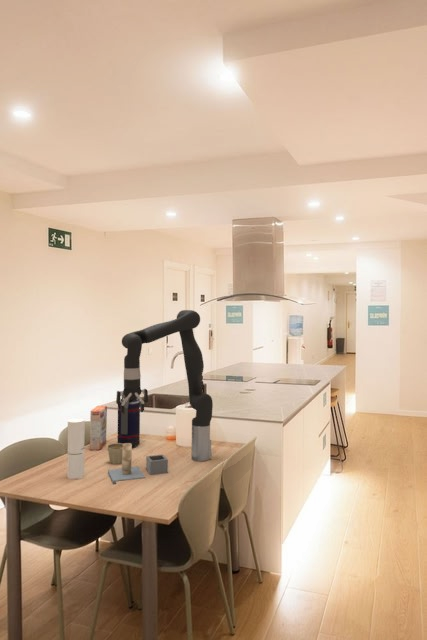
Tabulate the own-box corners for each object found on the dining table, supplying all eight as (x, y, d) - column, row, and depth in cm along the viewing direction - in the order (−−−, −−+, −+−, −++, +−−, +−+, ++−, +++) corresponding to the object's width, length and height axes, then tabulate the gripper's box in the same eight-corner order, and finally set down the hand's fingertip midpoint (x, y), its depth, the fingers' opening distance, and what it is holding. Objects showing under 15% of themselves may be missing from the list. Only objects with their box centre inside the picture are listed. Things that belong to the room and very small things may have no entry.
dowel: (129, 471, 215) (130, 442, 215) (131, 474, 211) (132, 445, 211) (121, 472, 214) (121, 443, 213) (122, 475, 210) (123, 445, 210)
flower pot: (121, 467, 224) (122, 449, 224) (103, 466, 226) (103, 448, 226) (129, 461, 233) (129, 443, 233) (111, 459, 235) (111, 442, 235)
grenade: (121, 441, 267) (122, 388, 266) (142, 443, 265) (142, 389, 264) (113, 449, 253) (113, 392, 252) (134, 450, 251) (135, 393, 250)
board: (138, 469, 222) (138, 466, 222) (145, 480, 209) (145, 476, 209) (107, 473, 216) (107, 469, 216) (113, 484, 203) (113, 480, 203)
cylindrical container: (87, 474, 214) (87, 419, 214) (77, 479, 208) (78, 422, 207) (73, 472, 217) (74, 417, 216) (64, 477, 210) (64, 421, 209)
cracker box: (100, 450, 250) (101, 411, 250) (89, 450, 250) (89, 410, 250) (107, 443, 264) (107, 405, 264) (96, 442, 264) (96, 405, 264)
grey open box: (162, 469, 223) (163, 454, 223) (167, 474, 215) (167, 459, 215) (146, 471, 220) (146, 456, 220) (150, 477, 212) (150, 461, 212)
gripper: (145, 375, 224) (145, 409, 224) (114, 377, 218) (115, 412, 219) (149, 377, 217) (149, 413, 218) (118, 379, 211) (118, 416, 212)
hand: (132, 412), depth 218 cm, fingers open, 8 cm apart
